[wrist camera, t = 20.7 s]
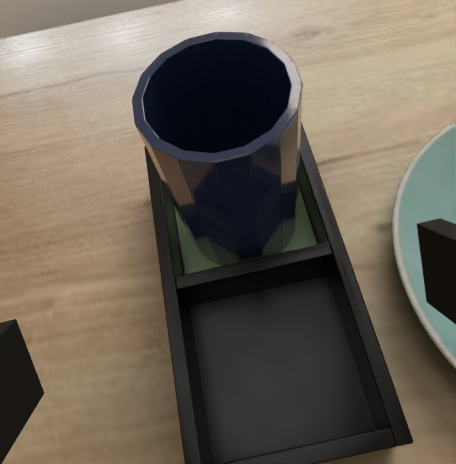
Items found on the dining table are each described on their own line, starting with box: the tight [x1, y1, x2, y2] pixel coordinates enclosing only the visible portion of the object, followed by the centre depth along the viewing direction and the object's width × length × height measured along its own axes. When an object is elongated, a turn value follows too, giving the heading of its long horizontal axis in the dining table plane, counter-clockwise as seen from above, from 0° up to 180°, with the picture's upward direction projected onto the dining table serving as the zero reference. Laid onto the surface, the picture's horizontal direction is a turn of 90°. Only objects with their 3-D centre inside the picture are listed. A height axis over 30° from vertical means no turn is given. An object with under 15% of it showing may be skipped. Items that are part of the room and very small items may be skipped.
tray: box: [145, 122, 413, 464], centre depth 26 cm, size 11×20×4 cm, turn 11°
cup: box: [132, 32, 303, 266], centre depth 24 cm, size 7×7×12 cm
